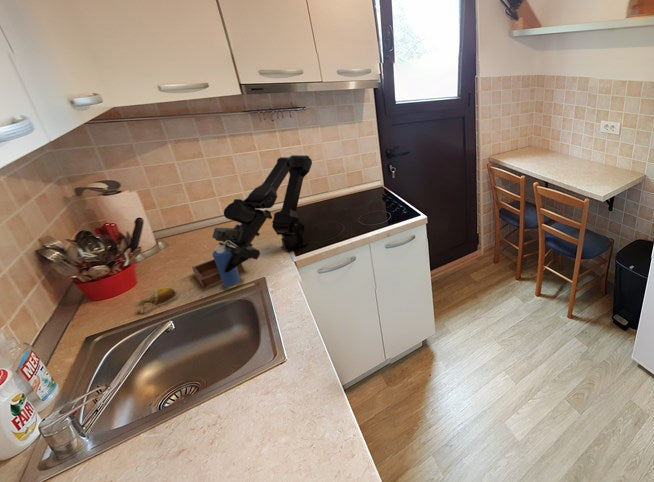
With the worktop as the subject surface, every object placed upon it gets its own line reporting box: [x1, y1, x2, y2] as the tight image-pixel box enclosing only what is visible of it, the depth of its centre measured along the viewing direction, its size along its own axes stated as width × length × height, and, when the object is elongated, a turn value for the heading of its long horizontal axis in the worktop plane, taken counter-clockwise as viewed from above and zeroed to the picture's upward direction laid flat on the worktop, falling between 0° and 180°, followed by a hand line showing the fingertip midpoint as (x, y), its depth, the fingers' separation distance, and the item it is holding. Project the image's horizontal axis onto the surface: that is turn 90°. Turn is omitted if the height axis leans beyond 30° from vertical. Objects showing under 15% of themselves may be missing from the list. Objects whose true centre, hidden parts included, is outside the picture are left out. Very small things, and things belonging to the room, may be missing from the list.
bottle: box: [212, 244, 242, 288], centre depth 108 cm, size 5×5×15 cm
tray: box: [191, 258, 245, 288], centre depth 115 cm, size 12×12×4 cm
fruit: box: [138, 287, 176, 314], centre depth 103 cm, size 8×8×4 cm
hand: (222, 269), depth 107 cm, fingers open, 5 cm apart
